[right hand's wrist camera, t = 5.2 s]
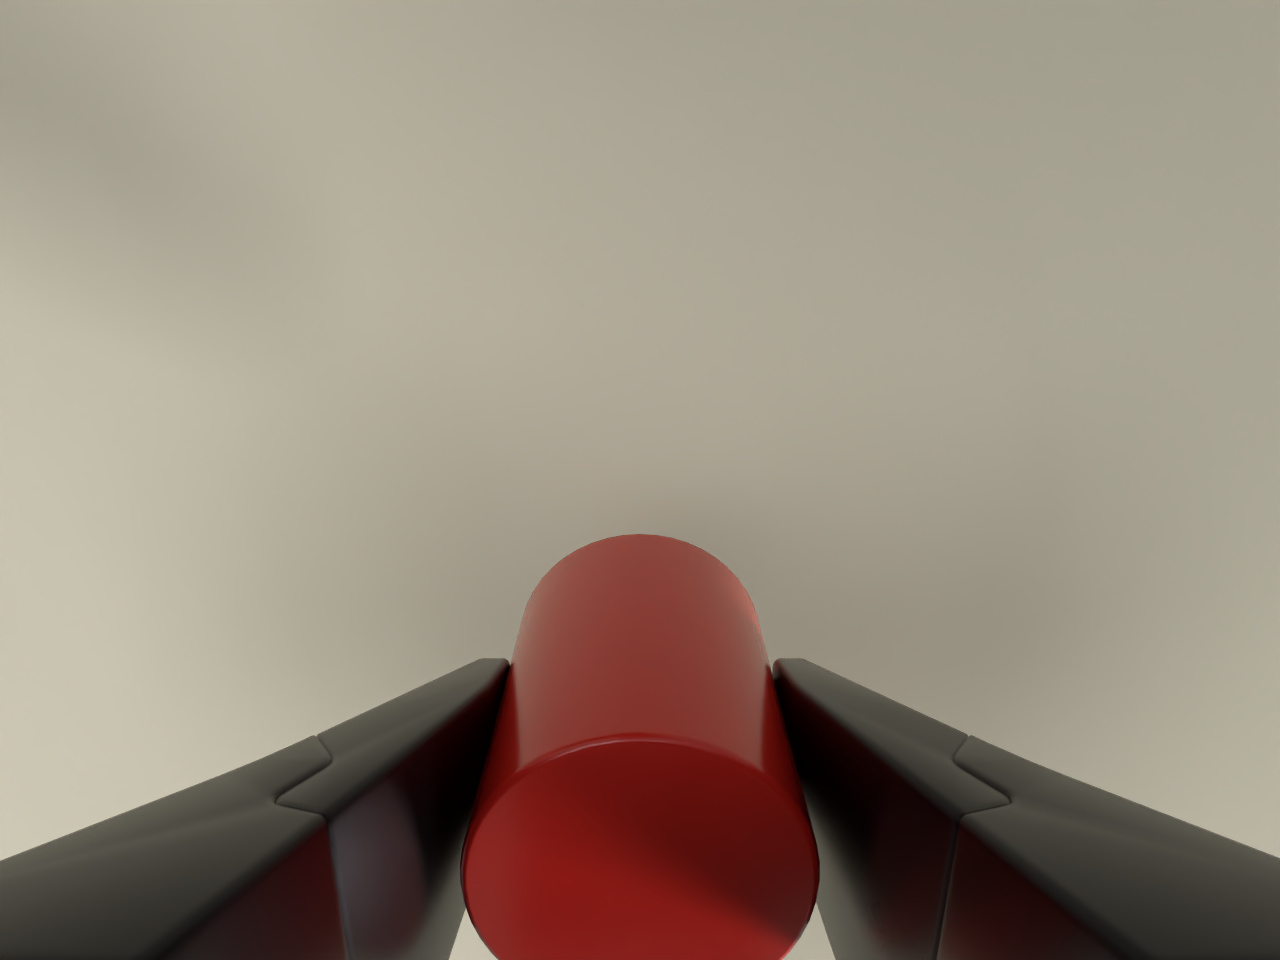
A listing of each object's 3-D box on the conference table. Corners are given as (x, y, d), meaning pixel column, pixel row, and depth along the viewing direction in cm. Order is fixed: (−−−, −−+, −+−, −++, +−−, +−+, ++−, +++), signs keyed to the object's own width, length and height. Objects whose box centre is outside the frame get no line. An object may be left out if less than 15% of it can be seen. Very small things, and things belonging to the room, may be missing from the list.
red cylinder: (514, 532, 12) (442, 737, 8) (764, 531, 12) (835, 736, 8) (527, 739, 13) (472, 1019, 9) (754, 739, 13) (809, 1018, 9)
